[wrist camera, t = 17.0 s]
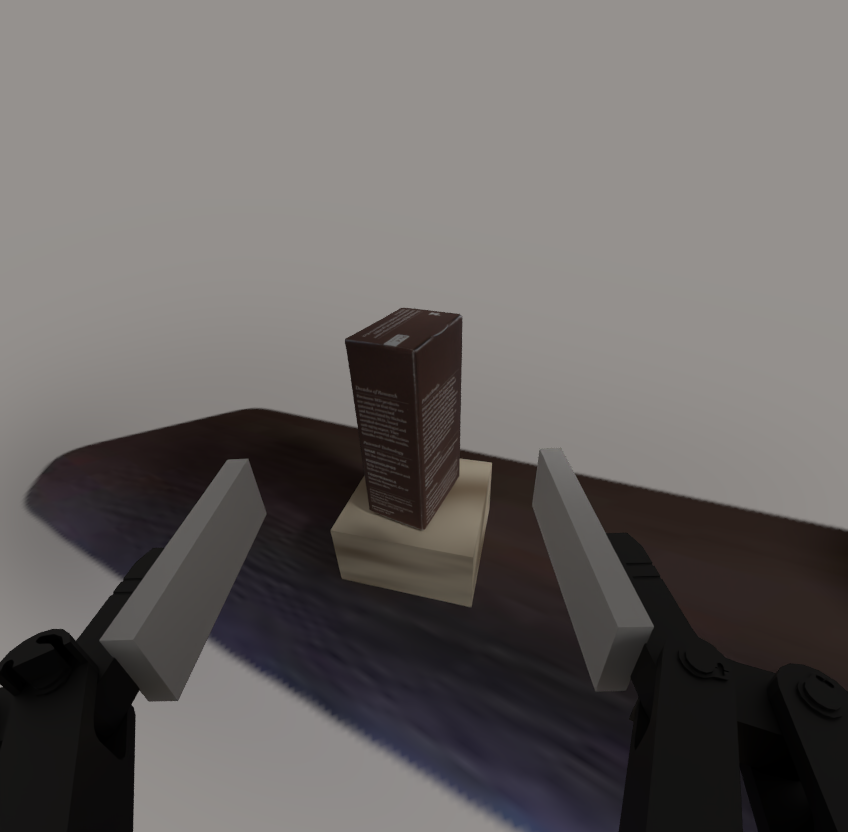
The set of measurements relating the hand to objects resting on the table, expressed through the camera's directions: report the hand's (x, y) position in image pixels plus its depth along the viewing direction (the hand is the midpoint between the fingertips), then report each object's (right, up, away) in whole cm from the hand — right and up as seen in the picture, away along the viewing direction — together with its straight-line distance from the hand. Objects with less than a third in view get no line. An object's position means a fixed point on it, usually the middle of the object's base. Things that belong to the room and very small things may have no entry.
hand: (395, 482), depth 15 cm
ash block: (+1, -7, +15) cm, 17 cm away
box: (0, -3, +12) cm, 13 cm away
